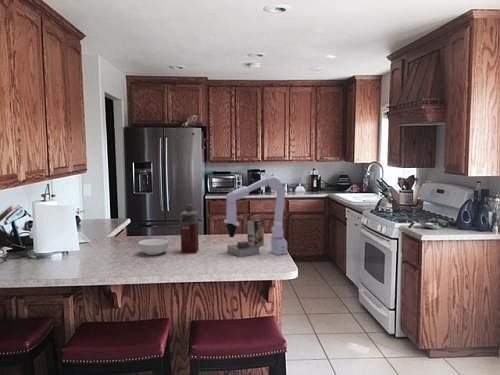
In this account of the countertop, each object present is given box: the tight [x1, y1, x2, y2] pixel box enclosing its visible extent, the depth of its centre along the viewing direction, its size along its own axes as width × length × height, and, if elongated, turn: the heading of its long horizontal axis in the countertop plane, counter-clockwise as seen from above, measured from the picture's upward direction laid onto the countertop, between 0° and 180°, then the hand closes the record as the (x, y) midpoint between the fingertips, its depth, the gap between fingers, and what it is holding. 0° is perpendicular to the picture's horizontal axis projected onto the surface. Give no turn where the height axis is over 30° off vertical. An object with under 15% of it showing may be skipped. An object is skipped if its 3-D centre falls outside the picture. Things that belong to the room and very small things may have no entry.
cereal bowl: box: [138, 238, 169, 256], centre depth 246 cm, size 17×17×7 cm
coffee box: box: [247, 218, 265, 247], centre depth 264 cm, size 9×6×16 cm
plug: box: [237, 240, 249, 248], centre depth 244 cm, size 4×5×6 cm
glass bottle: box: [179, 203, 200, 254], centre depth 248 cm, size 9×11×28 cm
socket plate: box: [226, 243, 260, 258], centre depth 244 cm, size 14×13×4 cm
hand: (231, 236), depth 244 cm, fingers closed
